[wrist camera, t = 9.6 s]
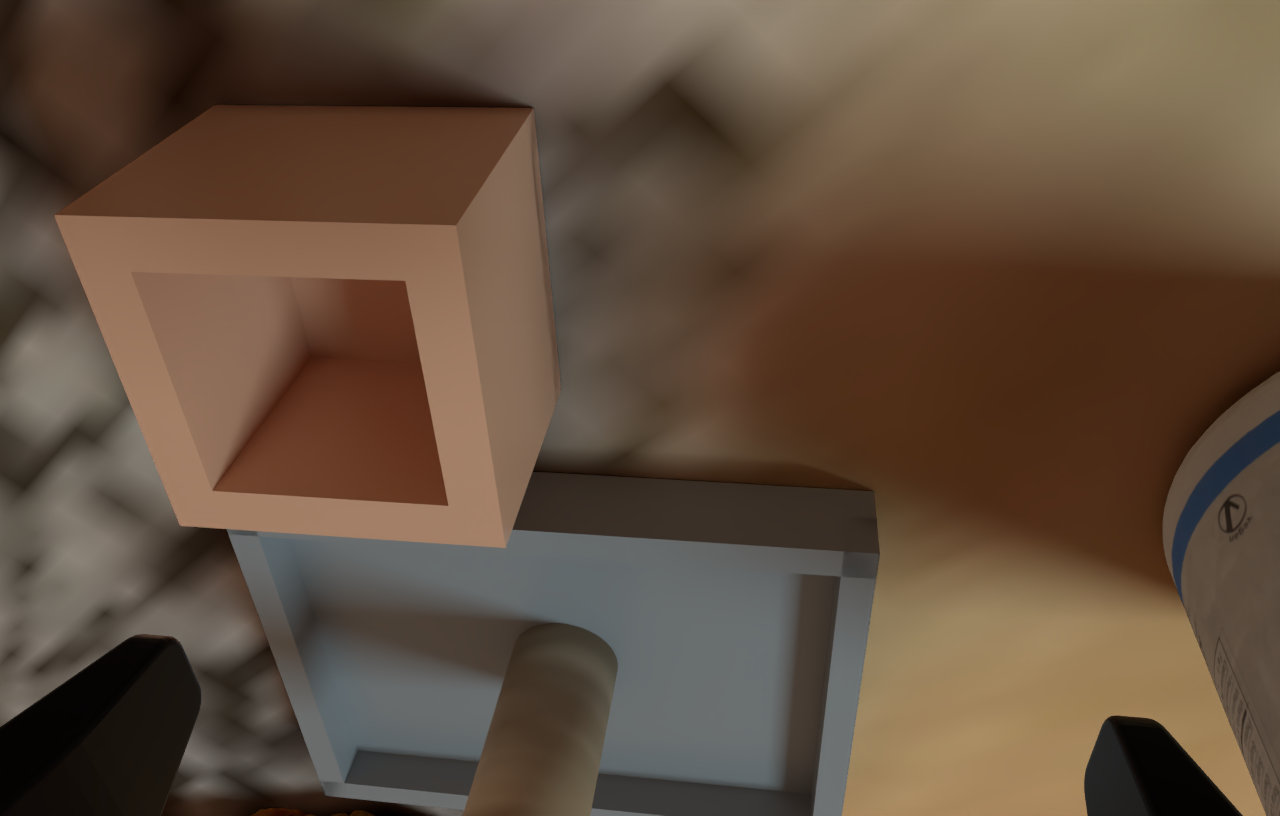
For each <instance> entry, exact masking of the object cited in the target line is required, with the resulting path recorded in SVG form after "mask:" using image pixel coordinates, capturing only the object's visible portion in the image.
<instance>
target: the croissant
mask: <svg viewBox="0 0 1280 816" xmlns="http://www.w3.org/2000/svg"><path fill="white" fill-rule="evenodd" d="M250 816H315V815H312V814H308V813H305V812H303V811H301V810H297V809H294V810H292V809H285V808H274V807H271V808H268V809H260V810H259V811H258V812H256V813H255V814H253V815H250ZM330 816H375V815H373V814H370V813H368V812H366V811H364V810H359V811H353V812H352V813H351V814H350V815H348V814H346V813H345V812H344V813H338V814H333V815H330Z"/></svg>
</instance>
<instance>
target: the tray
mask: <svg viewBox="0 0 1280 816" xmlns="http://www.w3.org/2000/svg"><path fill="white" fill-rule="evenodd" d="M227 532H228V535H229V537H230V540H231V543H232V545H233V548H234V551H235V554H236V556H237V559H238V562H239V564H240V567H241V570H242V572H243V575H244V578H245V581H246V583H247V586H248V589H249V591H250V594H251V597H252V599H253V602H254V605H255V607H256V610H257V613H258V616H259V618H260V621H261V624H262V626H263V629H264V632H265V634H266V637H267V640H268V642H269V645H270V648H271V651H272V653H273V656H274V659H275V661H276V664H277V667H278V669H279V672H280V675H281V678H282V680H283V683H284V686H285V688H286V691H287V694H288V696H289V699H290V702H291V704H292V707H293V710H294V713H295V715H296V718H297V721H298V723H299V726H300V729H301V731H302V734H303V737H304V739H305V742H306V745H307V748H308V750H309V753H310V756H311V758H312V761H313V764H314V766H315V769H316V772H317V775H318V777H319V780H320V783H321V785H322V788H323V791H324V793H325V796H332V797H342V798H352V799H361V800H371V801H381V802H390V803H400V804H410V805H419V806H429V807H439V808H448V809H458V810H465V806H466V803H467V800H468V796H469V793H470V790H471V786H472V783H473V780H474V777H475V773H476V770H477V767H478V763H479V760H480V757H481V754H482V750H483V747H484V744H485V740H486V737H487V734H488V730H489V727H490V724H491V721H492V717H493V714H494V711H495V707H496V704H497V701H498V697H499V694H500V691H501V688H502V684H503V681H504V678H505V674H506V671H507V668H508V665H509V661H510V658H511V655H512V651H513V648H514V645H515V642H516V640H517V639H518V637H519V636H520V635H521V634H522V633H524V632H525V631H526V630H528V629H530V628H532V627H535V626H538V625H542V624H549V623H562V624H569V625H574V626H578V627H581V628H584V629H586V630H589V631H590V632H592V633H594V634H596V635H597V636H599V637H601V638H602V639H603V640H604V641H605V642H606V643H607V644H608V645H609V646H610V647H611V648H612V650H613V651H614V653H615V655H616V658H617V662H618V671H617V676H616V681H615V687H614V692H613V697H612V703H611V708H610V713H609V719H608V724H607V729H606V734H605V740H604V745H603V750H602V756H601V761H600V766H599V772H598V777H597V782H596V787H595V793H594V798H593V803H592V809H591V814H590V816H842V810H843V803H844V796H845V789H846V782H847V775H848V768H849V761H850V755H851V748H852V741H853V734H854V727H855V720H856V713H857V706H858V700H859V693H860V686H861V679H862V672H863V665H864V658H865V652H866V645H867V638H868V631H869V624H870V617H871V610H872V603H873V597H874V590H875V583H876V576H877V569H878V562H879V555H880V552H879V541H878V530H877V519H876V509H875V498H874V491H859V490H842V489H824V488H807V487H790V486H772V485H755V484H738V483H720V482H703V481H686V480H669V479H651V478H634V477H617V476H599V475H582V474H565V473H548V472H532V474H531V477H530V480H529V483H528V486H527V489H526V492H525V494H524V497H523V500H522V503H521V506H520V509H519V512H518V514H517V517H516V520H515V523H514V526H513V529H512V532H511V535H510V537H509V540H508V543H507V546H506V548H498V547H483V546H469V545H454V544H439V543H425V542H410V541H395V540H381V539H366V538H351V537H337V536H322V535H307V534H293V533H278V532H263V531H249V530H234V529H227Z"/></svg>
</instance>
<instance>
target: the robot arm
mask: <svg viewBox="0 0 1280 816" xmlns="http://www.w3.org/2000/svg"><path fill="white" fill-rule="evenodd" d="M200 705H201V689H200V685H199V683H198V681H197V678H196V676H195V674H194V672H193V669H192V667H191V665H190V663H189V660H188V658H187V656H186V654H185V652H184V649H183V647H182V645H181V644H180V642H179V641H178V640H177V639H175V638H174V637H170V636H159V635H148V634H140V635H135V636H133V637H130V638H128V639H127V640H125V641H124V642H122V643H121V644H119V645H118V646H116V647H115V648H114V649H112V650H111V651H109V652H108V653H106V654H105V655H103V656H102V657H101V658H99V659H98V660H96V661H95V662H93V663H92V664H90V665H89V666H88V667H86V668H85V669H83V670H82V671H80V672H79V673H78V674H76V675H75V676H73V677H72V678H70V679H69V680H67V681H66V682H65V683H63V684H62V685H60V686H59V687H57V688H56V689H54V690H53V691H52V692H50V693H49V694H47V695H46V696H44V697H43V698H41V699H40V700H39V701H37V702H36V703H34V704H33V705H31V706H30V707H29V708H27V709H26V710H24V711H23V712H21V713H20V714H18V715H17V716H16V717H14V718H13V719H11V720H10V721H8V722H7V723H5V724H4V725H3V726H1V727H0V816H161V815H162V812H163V809H164V807H165V804H166V801H167V798H168V796H169V793H170V790H171V787H172V785H173V782H174V779H175V777H176V774H177V771H178V768H179V766H180V763H181V760H182V757H183V755H184V752H185V749H186V746H187V744H188V741H189V738H190V736H191V733H192V730H193V727H194V725H195V722H196V719H197V716H198V713H199V710H200ZM1084 790H1085V800H1086V807H1087V814H1088V816H1243V815H1242V814H1241V813H1240V812H1239V811H1238V810H1237V809H1236V808H1235V806H1234V805H1233V804H1232V803H1231V802H1230V801H1229V800H1228V799H1227V797H1226V796H1225V795H1224V794H1223V793H1222V792H1221V791H1220V790H1219V788H1218V787H1217V786H1216V785H1215V784H1214V783H1213V782H1212V780H1211V779H1210V778H1209V777H1208V776H1207V775H1206V774H1205V773H1204V771H1203V770H1202V769H1201V768H1200V767H1199V766H1198V765H1197V764H1196V762H1195V761H1194V760H1193V759H1192V758H1191V757H1190V756H1189V755H1188V753H1187V752H1186V751H1185V750H1184V749H1183V748H1182V747H1181V746H1180V744H1179V743H1178V742H1177V741H1176V740H1175V739H1174V738H1173V737H1172V735H1171V734H1170V733H1169V732H1168V731H1167V730H1166V729H1165V728H1164V727H1163V726H1162V725H1161V724H1160V723H1158V722H1157V721H1155V720H1152V719H1148V718H1139V717H1127V716H1110V717H1109V718H1107V719H1106V720H1105V721H1104V723H1103V725H1102V727H1101V730H1100V733H1099V735H1098V738H1097V741H1096V743H1095V746H1094V749H1093V751H1092V754H1091V757H1090V759H1089V762H1088V765H1087V768H1086V772H1085V780H1084Z"/></svg>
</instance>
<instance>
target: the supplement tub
mask: <svg viewBox="0 0 1280 816" xmlns="http://www.w3.org/2000/svg"><path fill="white" fill-rule="evenodd" d="M1162 534H1163V547H1164V552H1165V557H1166V561H1167V564H1168V568H1169V570H1170V573H1171V576H1172V578H1173V581H1174V583H1175V586H1176V588H1177V591H1178V593H1179V596H1180V598H1181V601H1182V603H1183V606H1184V608H1185V611H1186V613H1187V616H1188V618H1189V621H1190V624H1191V626H1192V629H1193V631H1194V634H1195V637H1196V639H1197V641H1198V644H1199V646H1200V649H1201V651H1202V654H1203V656H1204V659H1205V661H1206V664H1207V667H1208V669H1209V672H1210V674H1211V677H1212V680H1213V682H1214V685H1215V687H1216V690H1217V692H1218V695H1219V698H1220V700H1221V703H1222V705H1223V708H1224V710H1225V713H1226V716H1227V718H1228V721H1229V723H1230V725H1231V728H1232V730H1233V733H1234V735H1235V738H1236V740H1237V743H1238V745H1239V748H1240V750H1241V753H1242V755H1243V757H1244V760H1245V762H1246V765H1247V768H1248V770H1249V773H1250V775H1251V778H1252V780H1253V783H1254V785H1255V788H1256V790H1257V793H1258V796H1259V798H1260V801H1261V803H1262V806H1263V808H1264V811H1265V813H1266V816H1280V371H1279V372H1277V373H1276V374H1274V375H1273V376H1271V377H1270V378H1268V379H1267V380H1265V381H1264V382H1263V383H1261V384H1260V385H1258V386H1257V387H1255V388H1254V389H1253V390H1251V391H1250V392H1248V393H1247V394H1246V395H1245V396H1243V397H1242V398H1241V399H1240V400H1238V401H1237V402H1236V403H1234V404H1233V405H1232V406H1231V407H1230V408H1229V409H1227V410H1226V411H1225V412H1224V413H1223V414H1222V415H1221V416H1220V417H1218V419H1217V420H1216V421H1215V422H1214V423H1213V424H1212V425H1211V426H1210V427H1209V428H1208V429H1207V430H1206V431H1205V432H1204V433H1203V435H1202V436H1201V437H1200V438H1199V439H1198V441H1197V442H1196V443H1195V444H1194V445H1193V447H1192V448H1191V449H1190V450H1189V452H1188V453H1187V455H1186V457H1185V458H1184V460H1183V462H1182V464H1181V466H1180V467H1179V469H1178V471H1177V473H1176V475H1175V477H1174V479H1173V482H1172V485H1171V487H1170V490H1169V493H1168V496H1167V500H1166V504H1165V508H1164V515H1163V530H1162Z"/></svg>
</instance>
